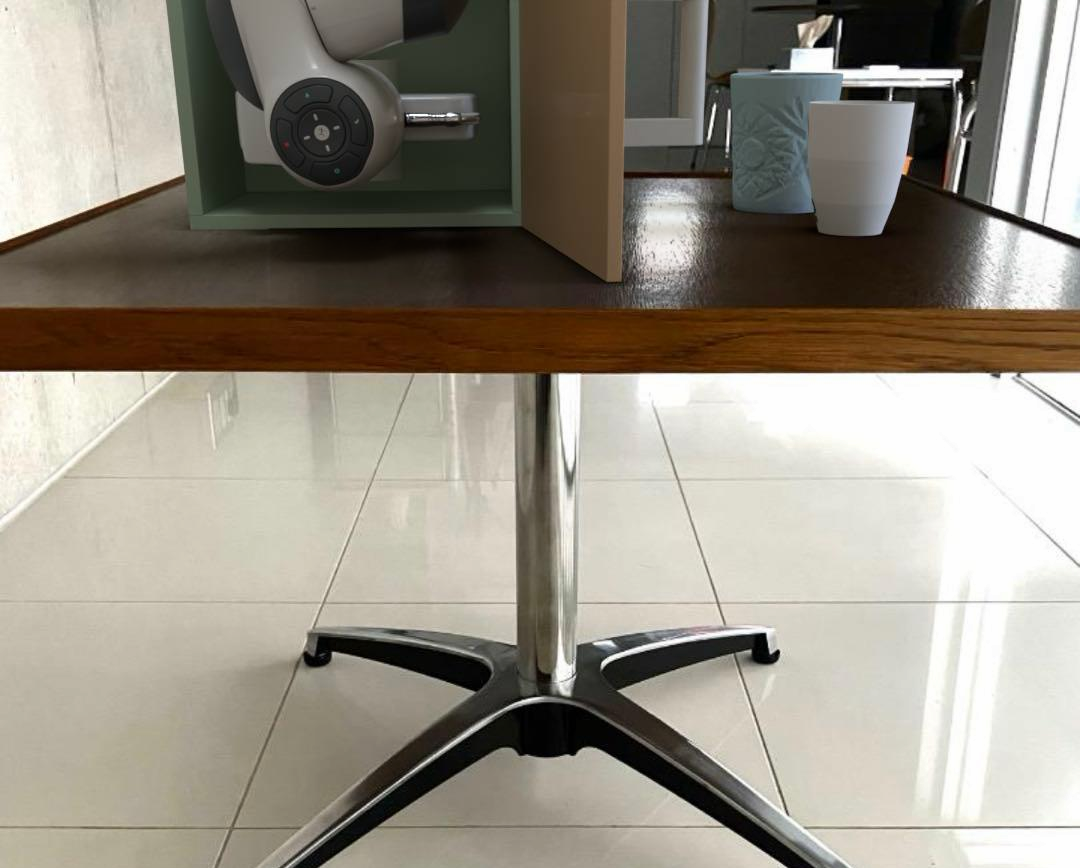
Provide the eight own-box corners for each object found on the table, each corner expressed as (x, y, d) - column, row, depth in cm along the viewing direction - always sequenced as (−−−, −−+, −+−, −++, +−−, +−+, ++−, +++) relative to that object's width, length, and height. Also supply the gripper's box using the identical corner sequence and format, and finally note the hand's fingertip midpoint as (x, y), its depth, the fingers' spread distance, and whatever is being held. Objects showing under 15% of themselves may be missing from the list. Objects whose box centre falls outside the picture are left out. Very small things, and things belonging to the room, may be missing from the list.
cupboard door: (599, 224, 104) (603, -121, 95) (708, 278, 78) (730, -189, 69) (521, 226, 103) (517, -123, 93) (606, 282, 77) (613, -193, 67)
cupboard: (526, 227, 104) (523, -124, 94) (190, 230, 103) (152, -124, 93) (522, 201, 122) (519, -94, 113) (237, 203, 122) (210, -93, 112)
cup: (848, 223, 105) (858, 99, 101) (922, 233, 99) (937, 102, 95) (778, 230, 101) (787, 102, 97) (852, 241, 95) (864, 104, 91)
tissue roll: (357, 182, 107) (350, 59, 103) (324, 178, 111) (316, 59, 107) (415, 178, 110) (410, 58, 106) (381, 174, 115) (375, 59, 111)
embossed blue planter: (821, 202, 120) (831, 71, 116) (842, 214, 111) (855, 73, 106) (718, 202, 120) (724, 72, 116) (730, 215, 111) (738, 73, 106)
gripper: (479, 77, 96) (481, 74, 109) (217, 79, 95) (250, 77, 108) (481, 161, 98) (483, 149, 111) (225, 164, 97) (257, 151, 110)
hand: (366, 113), depth 109 cm, fingers closed on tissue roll, 6 cm apart
